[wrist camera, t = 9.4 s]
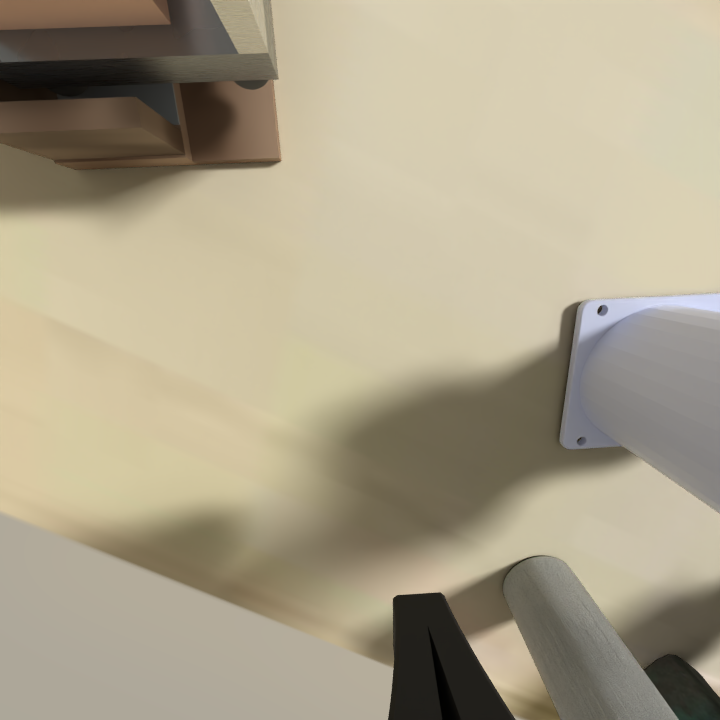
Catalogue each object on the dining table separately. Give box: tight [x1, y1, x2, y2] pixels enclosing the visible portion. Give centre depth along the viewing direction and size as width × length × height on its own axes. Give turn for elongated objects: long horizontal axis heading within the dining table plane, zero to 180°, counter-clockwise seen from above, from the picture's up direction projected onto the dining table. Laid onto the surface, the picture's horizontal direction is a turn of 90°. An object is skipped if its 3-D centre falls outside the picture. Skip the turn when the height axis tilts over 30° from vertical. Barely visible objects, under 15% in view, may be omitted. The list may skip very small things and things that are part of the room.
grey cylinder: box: [503, 556, 679, 720], centre depth 17 cm, size 4×4×10 cm
